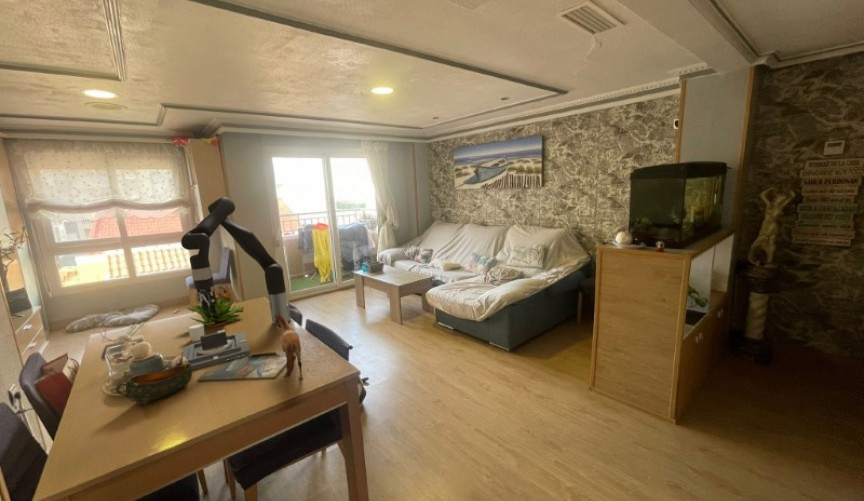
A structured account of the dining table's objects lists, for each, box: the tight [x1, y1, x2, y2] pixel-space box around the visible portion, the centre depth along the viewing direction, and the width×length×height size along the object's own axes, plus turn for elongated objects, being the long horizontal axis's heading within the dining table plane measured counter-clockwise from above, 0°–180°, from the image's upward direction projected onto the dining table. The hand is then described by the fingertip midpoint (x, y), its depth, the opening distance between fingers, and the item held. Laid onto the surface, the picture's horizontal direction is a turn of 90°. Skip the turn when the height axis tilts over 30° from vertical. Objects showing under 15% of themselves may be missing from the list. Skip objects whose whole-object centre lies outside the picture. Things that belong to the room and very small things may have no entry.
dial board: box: [181, 331, 250, 370], centre depth 163 cm, size 26×26×4 cm
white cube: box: [187, 323, 205, 342], centre depth 180 cm, size 7×7×7 cm
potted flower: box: [186, 292, 245, 328], centre depth 198 cm, size 25×24×18 cm
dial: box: [197, 329, 232, 355], centre depth 162 cm, size 14×14×7 cm
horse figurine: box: [274, 314, 304, 379], centre depth 140 cm, size 31×8×21 cm, turn 26°
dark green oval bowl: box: [115, 364, 193, 406], centre depth 129 cm, size 13×20×10 cm, turn 109°
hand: (209, 311), depth 160 cm, fingers open, 8 cm apart
